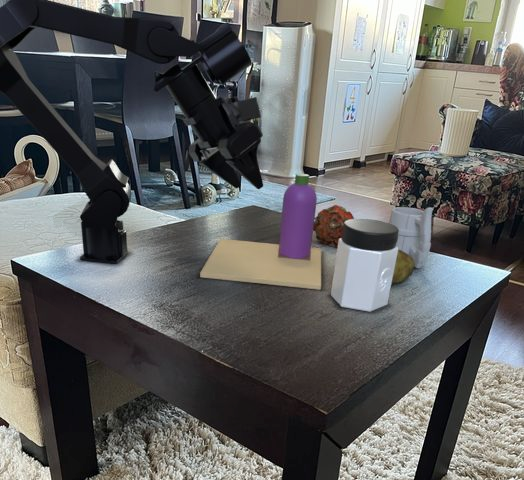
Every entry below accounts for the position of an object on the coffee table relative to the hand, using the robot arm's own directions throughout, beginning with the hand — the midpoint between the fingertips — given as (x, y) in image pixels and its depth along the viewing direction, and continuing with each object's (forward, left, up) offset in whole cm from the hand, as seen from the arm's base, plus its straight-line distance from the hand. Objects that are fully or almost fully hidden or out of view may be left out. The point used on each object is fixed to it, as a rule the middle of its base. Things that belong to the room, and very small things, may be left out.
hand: (249, 187), depth 92 cm
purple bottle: (+9, +4, -12) cm, 15 cm away
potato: (+24, -4, -13) cm, 28 cm away
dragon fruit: (+16, +16, -13) cm, 26 cm away
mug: (+30, +6, -13) cm, 33 cm away
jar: (+20, -14, -13) cm, 28 cm away
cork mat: (+4, -1, -13) cm, 14 cm away
